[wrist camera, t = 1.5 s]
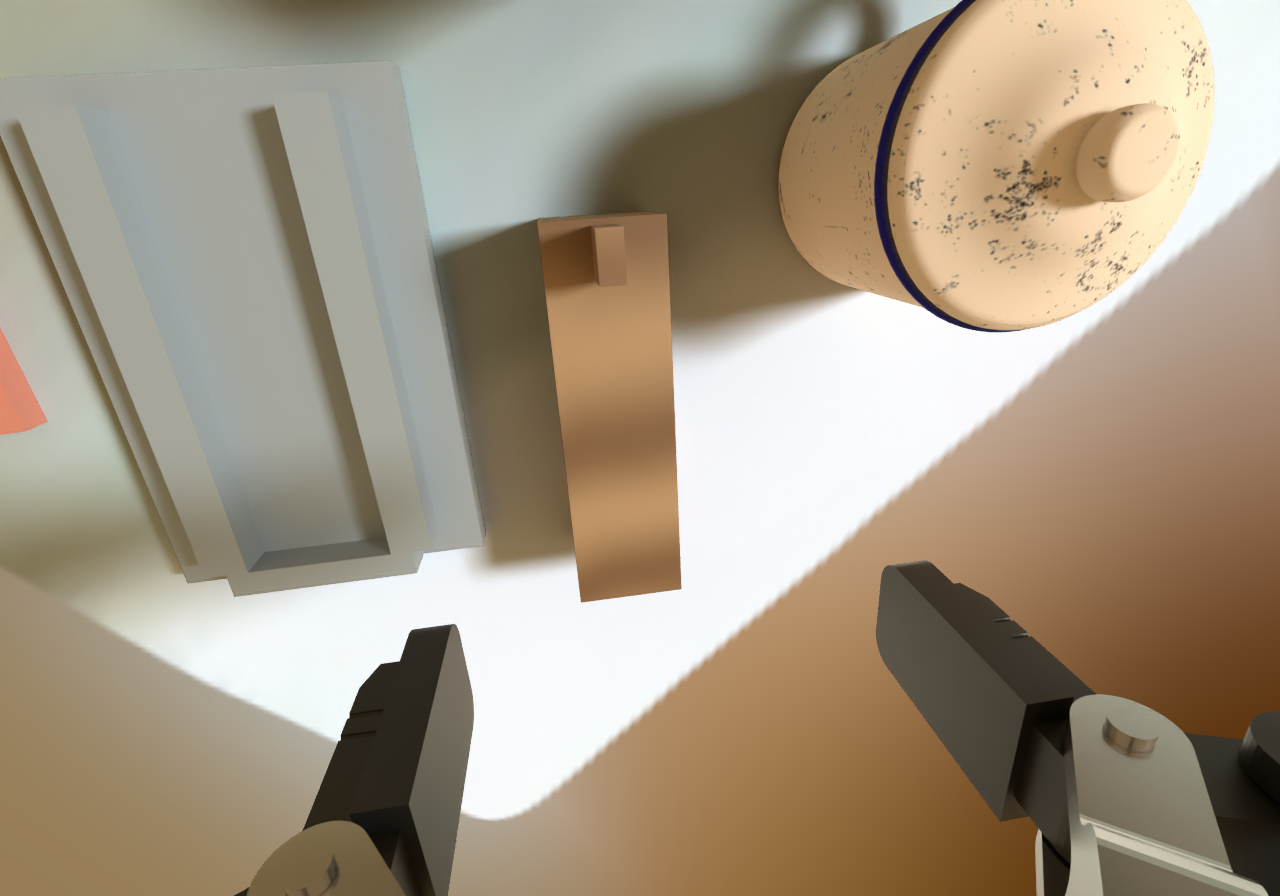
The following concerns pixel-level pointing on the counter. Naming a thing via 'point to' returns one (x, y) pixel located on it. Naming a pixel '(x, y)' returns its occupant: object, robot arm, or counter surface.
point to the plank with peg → (615, 397)
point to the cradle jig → (259, 310)
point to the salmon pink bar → (16, 395)
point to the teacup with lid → (1003, 156)
